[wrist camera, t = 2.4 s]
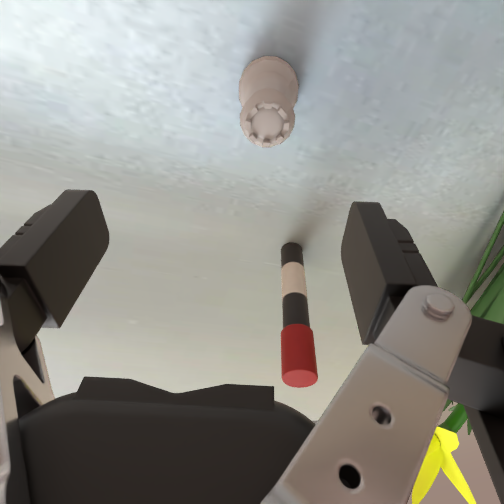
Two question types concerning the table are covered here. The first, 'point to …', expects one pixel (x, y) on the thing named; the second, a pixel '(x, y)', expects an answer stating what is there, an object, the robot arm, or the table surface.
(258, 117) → the rook chess piece
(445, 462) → the daffodil flowers
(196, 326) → the table surface
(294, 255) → the marker
